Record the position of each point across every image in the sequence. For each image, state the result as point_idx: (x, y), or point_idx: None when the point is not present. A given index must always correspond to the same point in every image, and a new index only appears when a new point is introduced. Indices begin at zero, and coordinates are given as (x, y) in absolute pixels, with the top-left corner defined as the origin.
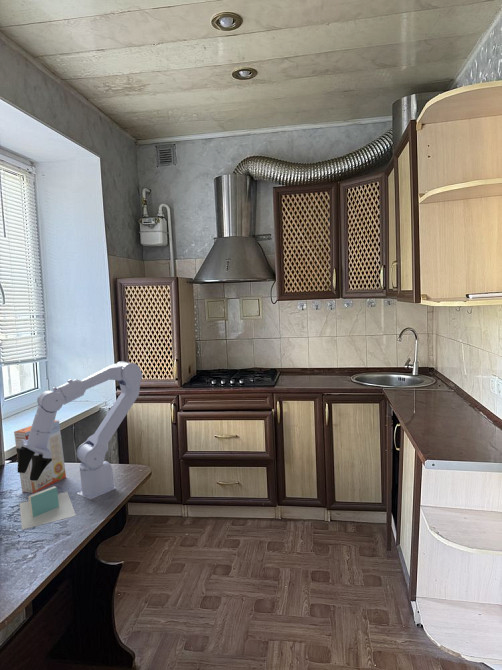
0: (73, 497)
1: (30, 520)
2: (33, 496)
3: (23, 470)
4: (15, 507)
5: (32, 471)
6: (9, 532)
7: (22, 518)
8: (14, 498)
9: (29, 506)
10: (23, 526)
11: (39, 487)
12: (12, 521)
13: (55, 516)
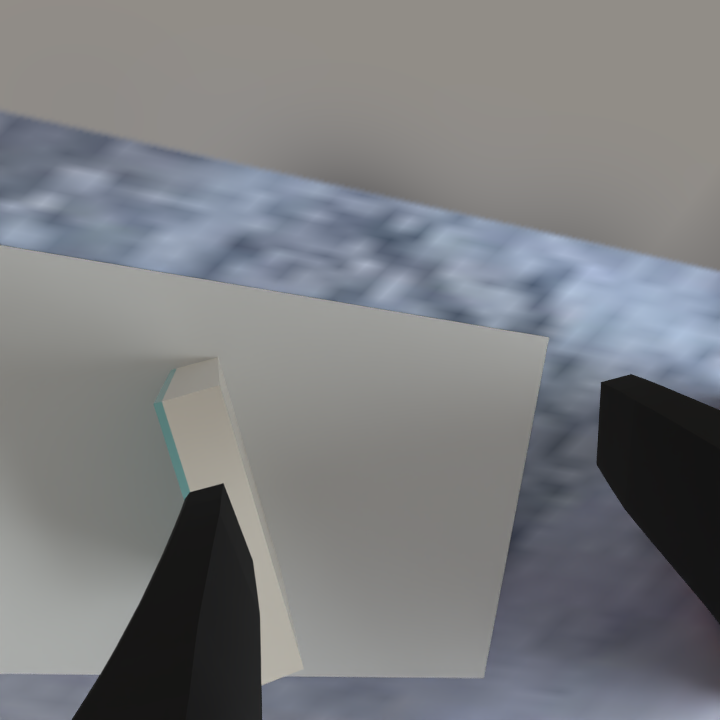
0: (358, 699)
1: (122, 339)
2: (165, 433)
3: (619, 462)
4: (512, 299)
5: (146, 606)
6: (33, 150)
7: (218, 294)
8: (682, 327)
9: (216, 369)
10: (33, 265)
11: None
12: (253, 221)
13: (40, 525)
